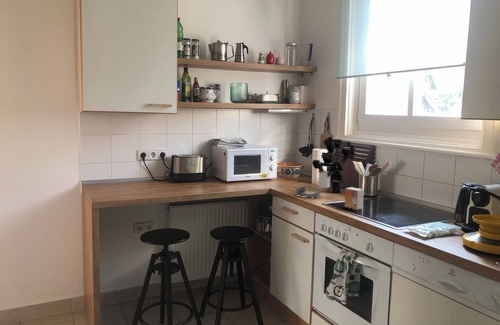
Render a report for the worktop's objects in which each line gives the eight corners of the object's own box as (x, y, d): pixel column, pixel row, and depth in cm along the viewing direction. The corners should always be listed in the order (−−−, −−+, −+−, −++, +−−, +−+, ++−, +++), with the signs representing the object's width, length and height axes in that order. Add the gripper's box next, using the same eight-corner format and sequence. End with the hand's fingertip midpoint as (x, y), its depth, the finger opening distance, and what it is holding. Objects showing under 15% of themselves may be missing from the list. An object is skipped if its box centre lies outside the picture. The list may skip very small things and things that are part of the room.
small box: (344, 207, 223) (344, 188, 222) (350, 205, 227) (351, 186, 225) (356, 210, 217) (357, 190, 216) (363, 208, 221) (363, 189, 219)
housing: (322, 185, 251) (322, 169, 249) (330, 186, 248) (330, 169, 247) (318, 187, 247) (319, 170, 245) (326, 188, 244) (327, 170, 242)
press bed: (303, 193, 259) (303, 185, 259) (319, 195, 254) (319, 187, 253) (296, 196, 251) (296, 188, 250) (313, 198, 245) (313, 190, 245)
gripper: (313, 146, 253) (305, 166, 245) (342, 148, 242) (335, 169, 235) (318, 158, 260) (310, 178, 252) (347, 159, 250) (340, 180, 242)
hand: (323, 176), depth 245 cm, fingers closed on housing, 5 cm apart
